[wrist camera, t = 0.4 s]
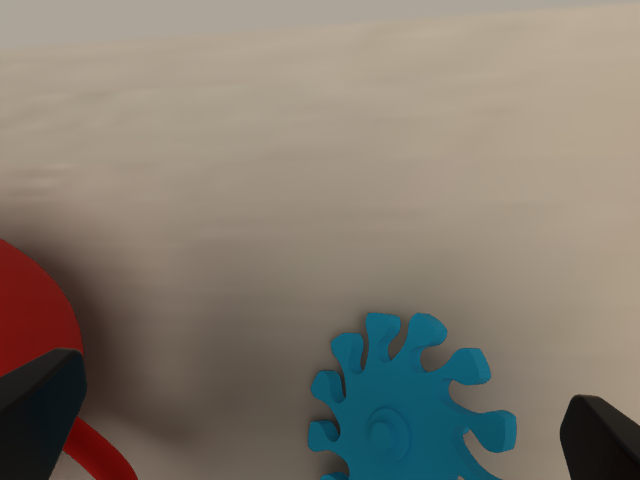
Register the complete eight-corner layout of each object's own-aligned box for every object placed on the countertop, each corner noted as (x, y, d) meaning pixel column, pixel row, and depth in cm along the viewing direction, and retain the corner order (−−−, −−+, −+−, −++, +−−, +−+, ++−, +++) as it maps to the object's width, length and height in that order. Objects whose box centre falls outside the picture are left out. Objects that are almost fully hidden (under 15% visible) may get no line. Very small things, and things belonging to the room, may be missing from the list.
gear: (332, 278, 23) (540, 370, 15) (409, 290, 27) (605, 367, 19) (269, 500, 23) (439, 689, 16) (354, 479, 27) (521, 624, 20)
